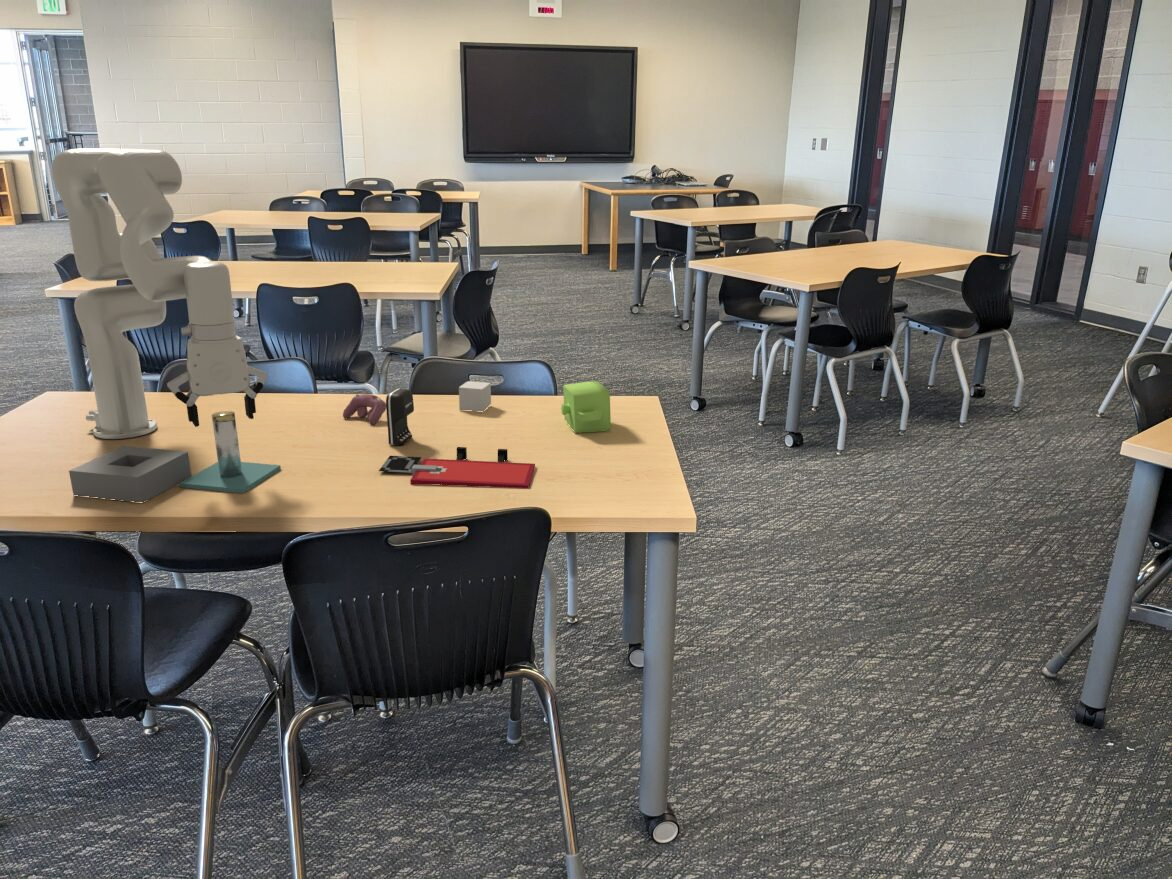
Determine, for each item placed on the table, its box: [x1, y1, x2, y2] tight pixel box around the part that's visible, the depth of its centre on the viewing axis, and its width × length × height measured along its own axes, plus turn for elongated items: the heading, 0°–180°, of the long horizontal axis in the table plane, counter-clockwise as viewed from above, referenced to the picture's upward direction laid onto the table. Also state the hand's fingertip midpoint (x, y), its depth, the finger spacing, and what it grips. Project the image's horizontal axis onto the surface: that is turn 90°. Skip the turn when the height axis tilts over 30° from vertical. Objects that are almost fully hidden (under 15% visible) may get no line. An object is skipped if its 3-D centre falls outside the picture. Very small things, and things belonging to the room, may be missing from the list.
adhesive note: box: [458, 380, 492, 412], centre depth 212 cm, size 6×6×6 cm
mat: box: [179, 461, 282, 494], centre depth 166 cm, size 13×13×1 cm
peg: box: [211, 410, 242, 478], centre depth 164 cm, size 4×4×12 cm
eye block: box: [68, 445, 192, 503], centre depth 161 cm, size 14×14×5 cm
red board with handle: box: [378, 446, 536, 489], centre depth 171 cm, size 30×3×15 cm
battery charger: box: [385, 388, 415, 446], centre depth 186 cm, size 7×4×11 cm, turn 168°
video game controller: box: [342, 393, 386, 426], centre depth 203 cm, size 10×5×7 cm, turn 58°
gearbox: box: [560, 380, 612, 434], centre depth 200 cm, size 18×10×10 cm, turn 15°
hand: (223, 420), depth 163 cm, fingers open, 9 cm apart
